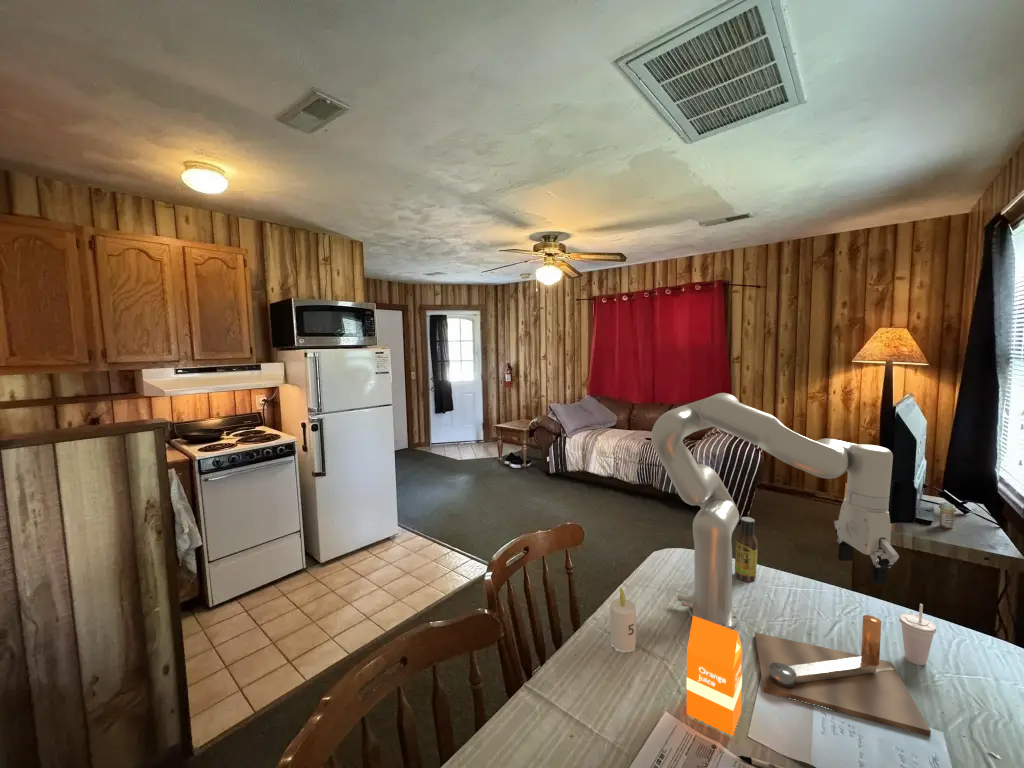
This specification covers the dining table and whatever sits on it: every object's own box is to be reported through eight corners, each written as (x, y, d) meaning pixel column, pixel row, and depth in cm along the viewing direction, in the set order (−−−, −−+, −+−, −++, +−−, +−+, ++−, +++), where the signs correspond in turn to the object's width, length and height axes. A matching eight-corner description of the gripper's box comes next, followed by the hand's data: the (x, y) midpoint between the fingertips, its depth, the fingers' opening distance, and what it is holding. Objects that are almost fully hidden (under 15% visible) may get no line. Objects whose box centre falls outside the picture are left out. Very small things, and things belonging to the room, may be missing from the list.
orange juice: (697, 692, 95) (698, 606, 93) (741, 712, 89) (743, 622, 88) (685, 716, 89) (686, 625, 87) (732, 740, 83) (734, 643, 82)
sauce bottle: (730, 574, 142) (731, 516, 141) (744, 570, 144) (745, 513, 143) (746, 584, 136) (747, 523, 135) (761, 580, 138) (762, 520, 137)
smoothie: (941, 671, 99) (945, 613, 98) (909, 668, 100) (912, 611, 99) (921, 652, 105) (924, 597, 104) (891, 649, 106) (893, 595, 105)
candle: (621, 656, 106) (621, 599, 105) (605, 640, 112) (604, 586, 111) (641, 649, 109) (641, 592, 108) (624, 633, 115) (624, 580, 114)
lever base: (763, 691, 95) (763, 686, 94) (754, 636, 112) (754, 631, 112) (930, 736, 83) (930, 730, 83) (891, 667, 101) (891, 661, 100)
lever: (780, 689, 93) (781, 638, 92) (764, 672, 98) (765, 624, 97) (886, 674, 96) (889, 625, 95) (865, 658, 101) (867, 612, 100)
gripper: (823, 486, 106) (818, 552, 108) (881, 515, 89) (874, 592, 91) (854, 486, 106) (849, 552, 108) (918, 515, 89) (911, 593, 91)
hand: (860, 570), depth 99 cm, fingers open, 9 cm apart
